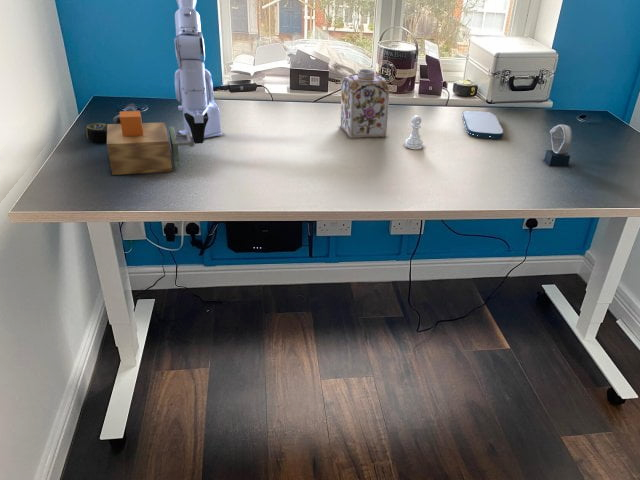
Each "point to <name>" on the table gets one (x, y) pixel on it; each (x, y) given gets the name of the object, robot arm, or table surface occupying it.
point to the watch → (559, 153)
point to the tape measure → (96, 132)
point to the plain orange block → (131, 123)
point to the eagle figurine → (128, 108)
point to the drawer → (175, 145)
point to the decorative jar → (364, 105)
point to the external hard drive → (482, 124)
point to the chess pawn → (414, 135)
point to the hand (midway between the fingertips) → (198, 142)
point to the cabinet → (139, 150)
